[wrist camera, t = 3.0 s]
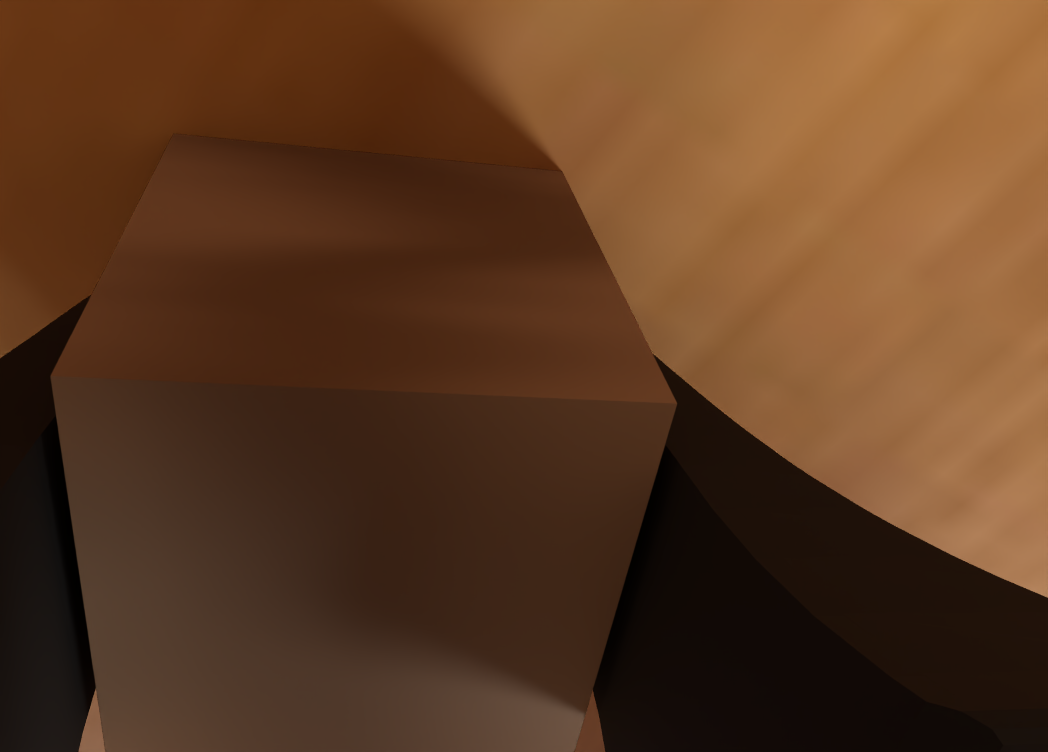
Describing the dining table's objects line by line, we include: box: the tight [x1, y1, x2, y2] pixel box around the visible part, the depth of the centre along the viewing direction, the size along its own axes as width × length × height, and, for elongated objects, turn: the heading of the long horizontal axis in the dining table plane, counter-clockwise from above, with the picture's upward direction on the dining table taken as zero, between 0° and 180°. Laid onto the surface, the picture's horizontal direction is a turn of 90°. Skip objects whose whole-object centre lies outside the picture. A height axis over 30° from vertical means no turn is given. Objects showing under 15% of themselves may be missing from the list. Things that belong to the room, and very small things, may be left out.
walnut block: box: [50, 134, 677, 752], centre depth 10 cm, size 4×4×5 cm
